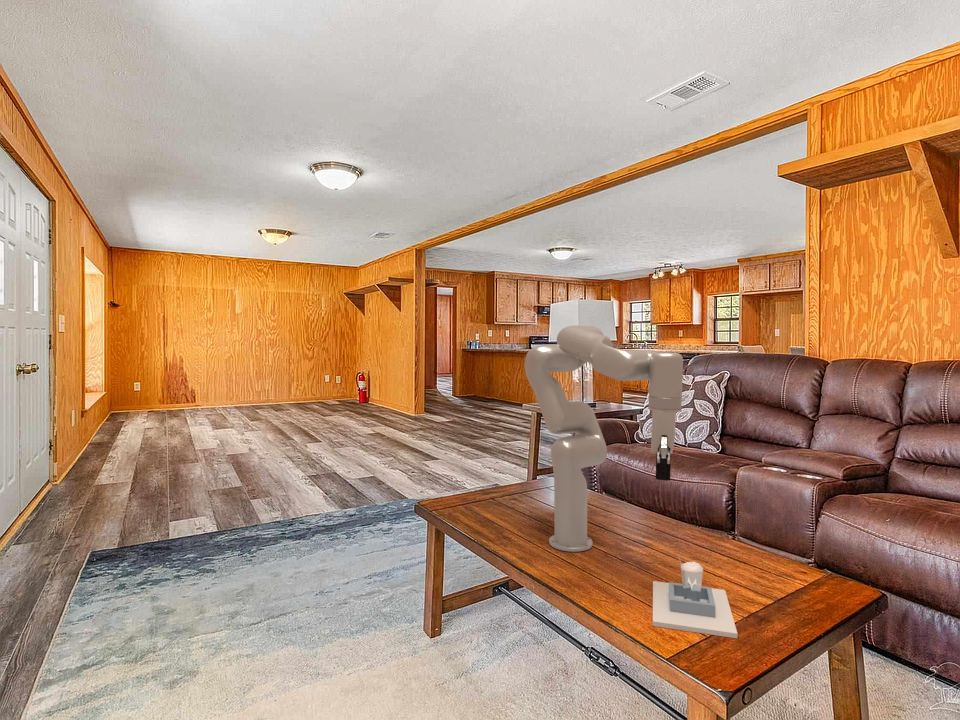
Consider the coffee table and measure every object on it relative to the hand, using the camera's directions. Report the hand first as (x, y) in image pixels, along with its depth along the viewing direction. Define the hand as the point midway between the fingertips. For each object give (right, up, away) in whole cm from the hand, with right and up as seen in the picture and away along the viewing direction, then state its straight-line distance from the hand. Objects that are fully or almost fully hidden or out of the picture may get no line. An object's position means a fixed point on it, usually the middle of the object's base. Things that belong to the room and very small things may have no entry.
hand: (662, 474), depth 129 cm
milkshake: (+2, -27, -10) cm, 29 cm away
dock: (+3, -27, -11) cm, 30 cm away
